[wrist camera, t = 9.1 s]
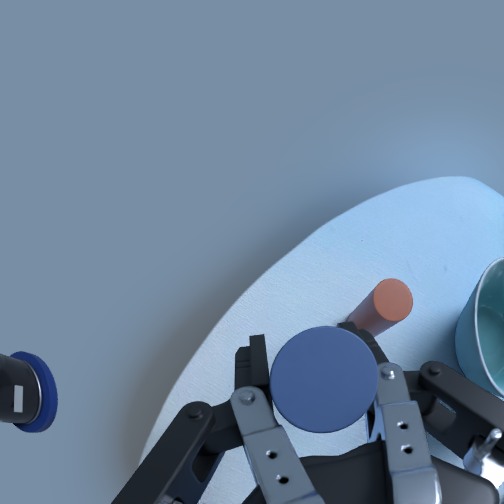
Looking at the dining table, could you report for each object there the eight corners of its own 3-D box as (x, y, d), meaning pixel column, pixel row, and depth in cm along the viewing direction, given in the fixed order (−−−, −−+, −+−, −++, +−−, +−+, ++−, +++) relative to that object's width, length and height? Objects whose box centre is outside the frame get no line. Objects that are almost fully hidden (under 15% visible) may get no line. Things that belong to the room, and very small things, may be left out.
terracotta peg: (356, 347, 28) (388, 329, 20) (340, 318, 30) (364, 291, 22) (383, 330, 29) (420, 306, 21) (367, 302, 31) (397, 270, 22)
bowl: (453, 263, 32) (487, 231, 24) (526, 313, 27) (564, 292, 20) (414, 378, 26) (455, 370, 19) (499, 419, 22) (542, 416, 14)
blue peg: (286, 423, 16) (300, 452, 8) (259, 373, 17) (249, 357, 9) (338, 395, 16) (396, 395, 8) (311, 346, 18) (346, 306, 10)
